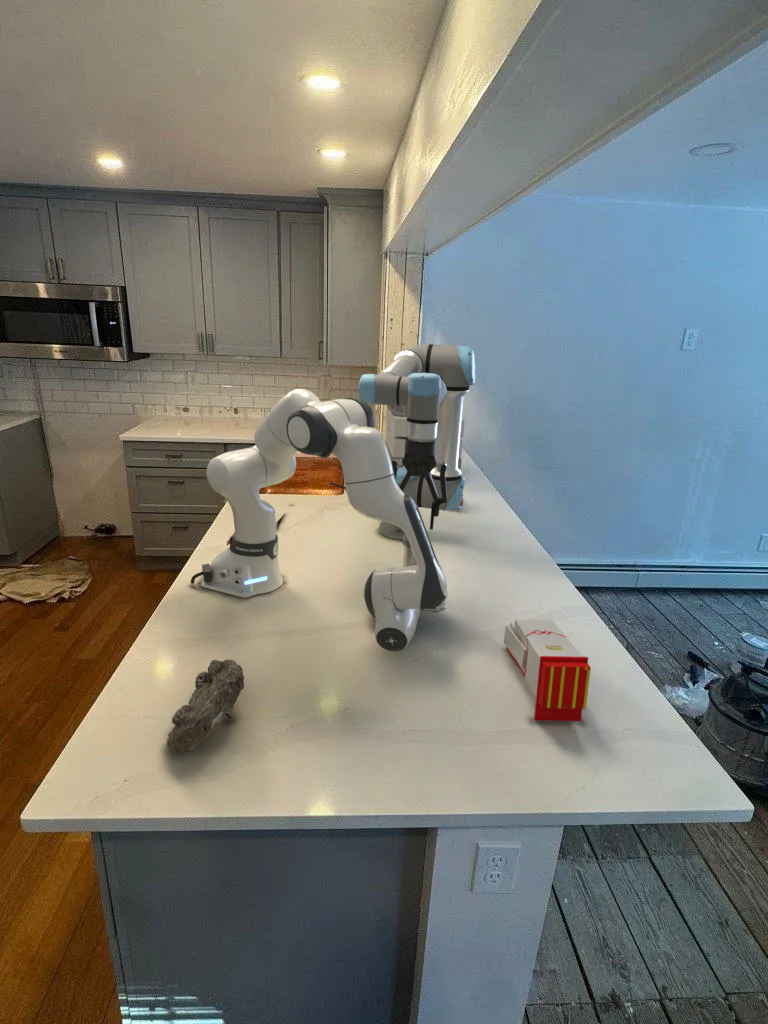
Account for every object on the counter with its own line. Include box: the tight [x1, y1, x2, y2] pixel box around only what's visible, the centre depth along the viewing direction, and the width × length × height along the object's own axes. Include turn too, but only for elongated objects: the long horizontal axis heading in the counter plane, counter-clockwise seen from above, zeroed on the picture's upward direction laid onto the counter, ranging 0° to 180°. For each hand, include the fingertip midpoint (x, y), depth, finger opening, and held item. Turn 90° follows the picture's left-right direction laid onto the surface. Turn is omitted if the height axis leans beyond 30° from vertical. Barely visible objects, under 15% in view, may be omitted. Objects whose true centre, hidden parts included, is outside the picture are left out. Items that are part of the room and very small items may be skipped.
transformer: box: [384, 405, 465, 472], centre depth 268 cm, size 34×33×41 cm
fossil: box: [166, 658, 245, 754], centre depth 106 cm, size 22×10×15 cm
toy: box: [503, 618, 592, 722], centre depth 122 cm, size 12×13×30 cm
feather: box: [276, 513, 286, 531], centre depth 210 cm, size 2×28×2 cm
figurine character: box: [456, 493, 464, 511], centre depth 230 cm, size 7×8×15 cm
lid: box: [402, 534, 411, 548], centre depth 147 cm, size 6×6×2 cm
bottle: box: [402, 545, 417, 567], centre depth 150 cm, size 5×5×19 cm
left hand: (411, 581), depth 152 cm, fingers closed on bottle, 5 cm apart
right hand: (414, 526), depth 145 cm, fingers open, 8 cm apart
